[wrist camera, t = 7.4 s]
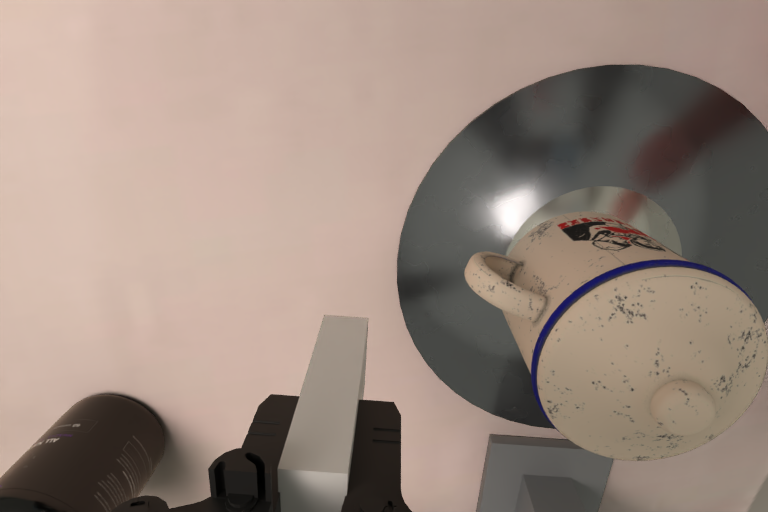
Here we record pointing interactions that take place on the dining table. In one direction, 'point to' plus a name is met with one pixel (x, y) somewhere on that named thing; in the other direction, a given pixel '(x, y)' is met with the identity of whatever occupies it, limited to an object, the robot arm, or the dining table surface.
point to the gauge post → (541, 476)
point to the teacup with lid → (625, 336)
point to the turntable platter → (577, 205)
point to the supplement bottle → (87, 459)
